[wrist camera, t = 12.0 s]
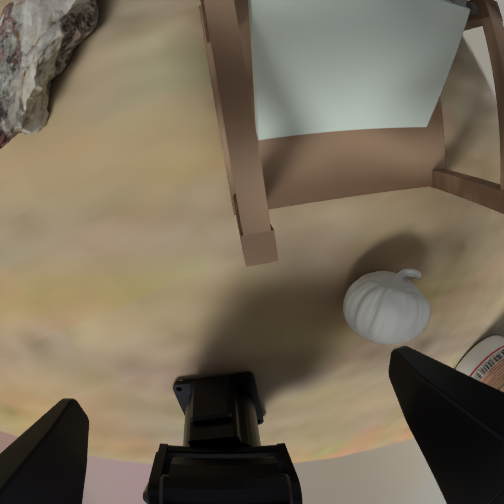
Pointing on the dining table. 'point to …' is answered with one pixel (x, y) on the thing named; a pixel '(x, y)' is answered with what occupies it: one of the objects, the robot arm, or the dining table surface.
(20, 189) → the dining table surface
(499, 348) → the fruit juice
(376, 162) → the stand
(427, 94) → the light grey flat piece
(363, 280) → the garlic
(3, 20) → the mineral rock
